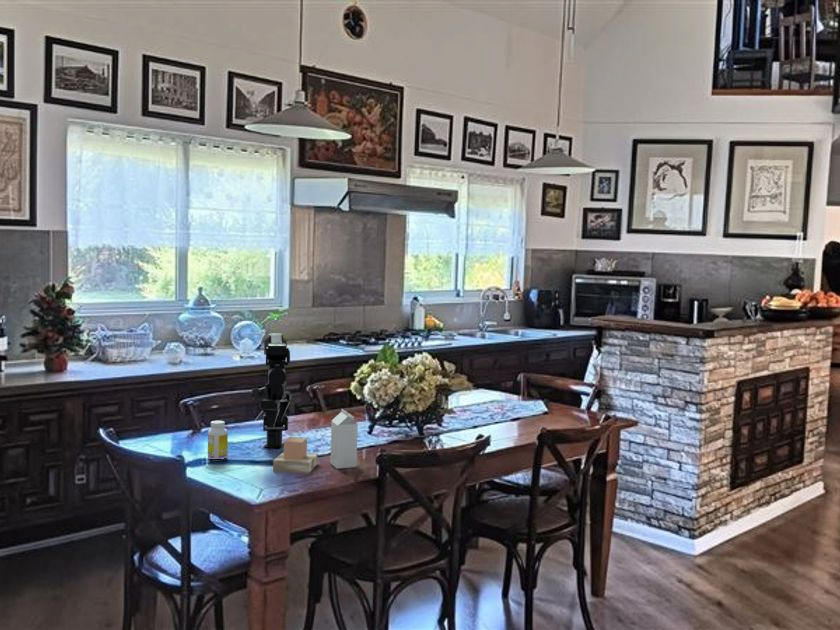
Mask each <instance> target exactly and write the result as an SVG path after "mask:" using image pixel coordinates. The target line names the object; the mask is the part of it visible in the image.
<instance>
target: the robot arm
mask: <svg viewBox="0 0 840 630" xmlns="http://www.w3.org/2000/svg"><path fill="white" fill-rule="evenodd" d="M287 346H288V342H287V339H285V338H284V334H283V333H281V332H271V333H269V334H268V337H267V338H266V339H264V341H263V355H265V366H268V367H267V369H268V371H267V372H268V375H267V378H268V379H267V383H266V384H265V385H264V387H261V388H259V387H256V388H252V389H251V392H250V398H252V399H253V402H254V401H255V402H256V401H257V400H259V399H262V398H264V399H262V400H261V401H260V402H259V407H258V408H259V409H260V410H261V411H263V412H264V414H262V415H263V416H262V417H263V418H262V421H263V422H262V431H263V432H266V443H265V444H264V445H263V446H262V447H263V448H264V447H270V448H269V449H279V448H280V449H282V448H284V442H283V432H287V431H289V417H288V416H287V414H285V413H287V409H288V408H289V405H290V404H291V400H293V393H292V392H291V391H288V390H286V388H285V387H286V386H287V382H286V379H287V375H286V367H285V366H289V363H291V354H290V353H291V350H290V348H289V347H287Z"/></svg>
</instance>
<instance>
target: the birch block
mask: <svg viewBox="0 0 840 630" xmlns="http://www.w3.org/2000/svg"><path fill="white" fill-rule="evenodd" d="M318 455H319V454H318V453H310V452H307V456H305V457H304V458H303V459H302V460H293V459H284V451H283V452H281V454H279V455H278V456H277V457H275V459H273V460H272V472H276V473H290V474H305V475H306V474H307V475H309V474H310V473H311V471H312V470H314V469H315V467H316V466H317V465H318V463H319V461H318V460H319V459H318V458H319V457H318Z"/></svg>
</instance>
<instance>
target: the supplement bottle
mask: <svg viewBox="0 0 840 630" xmlns="http://www.w3.org/2000/svg"><path fill="white" fill-rule="evenodd" d="M225 425H226V422H225V421H224V420H212V421H210V429H208V430H207V459H208V460H210V459H222V458H225V457H227V458H228V455H229V454H228V452H229V451H228V445H229V444H228V443H229V440H228V433H229V432H228V429H227V428H225Z"/></svg>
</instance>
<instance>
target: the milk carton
mask: <svg viewBox="0 0 840 630" xmlns="http://www.w3.org/2000/svg"><path fill="white" fill-rule="evenodd" d="M354 419H355V416H354V415H352V414H351V413H349V412H347V411H346V410H344V409H343V408H341V410H340V412H339V414H337V415H336V416H335V417H334V418H333V419H332V420H331V431H330V438H331V439H330V464H331V465H332V466H333V467H334V468H335V469H351V468H357V467H358V466H357V465H358V462H357V461H358V458H357V457H358V428H359V427H358V426H359V425H358V423H357V422H356V421H355V420H354Z"/></svg>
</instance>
